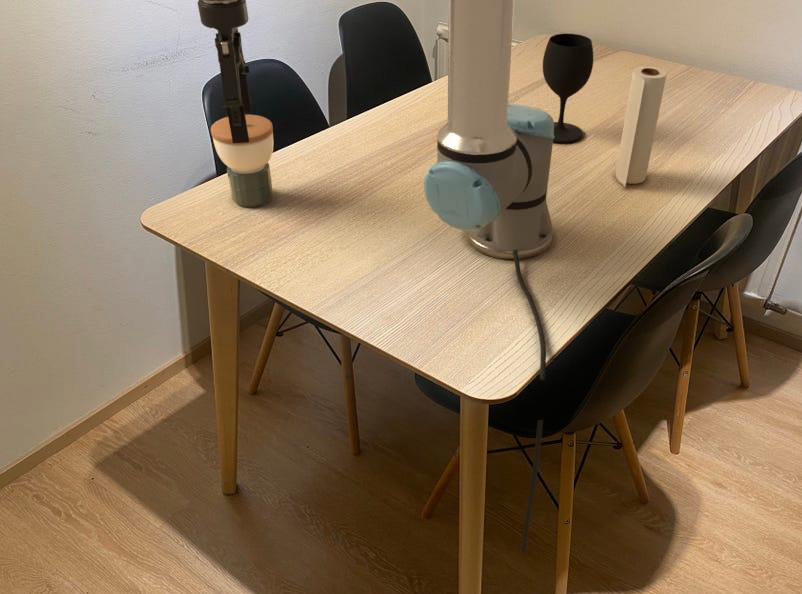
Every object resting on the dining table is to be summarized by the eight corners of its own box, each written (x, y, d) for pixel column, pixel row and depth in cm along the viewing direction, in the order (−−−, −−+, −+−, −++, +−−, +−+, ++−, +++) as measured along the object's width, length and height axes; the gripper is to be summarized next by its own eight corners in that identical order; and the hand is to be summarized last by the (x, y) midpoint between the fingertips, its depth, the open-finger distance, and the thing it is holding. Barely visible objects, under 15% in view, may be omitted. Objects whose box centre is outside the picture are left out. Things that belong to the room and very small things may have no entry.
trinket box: (219, 183, 136) (209, 132, 130) (216, 156, 144) (207, 108, 138) (280, 176, 138) (274, 126, 132) (274, 151, 146) (268, 103, 140)
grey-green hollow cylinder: (273, 207, 143) (268, 175, 139) (231, 209, 142) (225, 177, 138) (273, 187, 149) (269, 156, 144) (233, 190, 147) (227, 158, 143)
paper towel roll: (631, 168, 158) (650, 63, 144) (651, 180, 154) (674, 73, 140) (604, 176, 155) (622, 69, 141) (624, 188, 151) (645, 80, 137)
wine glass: (528, 126, 173) (537, 34, 160) (571, 121, 175) (583, 30, 162) (546, 145, 165) (557, 50, 152) (590, 140, 168) (604, 46, 155)
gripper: (202, -22, 131) (224, 100, 145) (189, 21, 112) (216, 157, 126) (247, -24, 132) (265, 98, 146) (242, 19, 113) (262, 154, 127)
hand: (242, 126), depth 136 cm, fingers open, 13 cm apart
